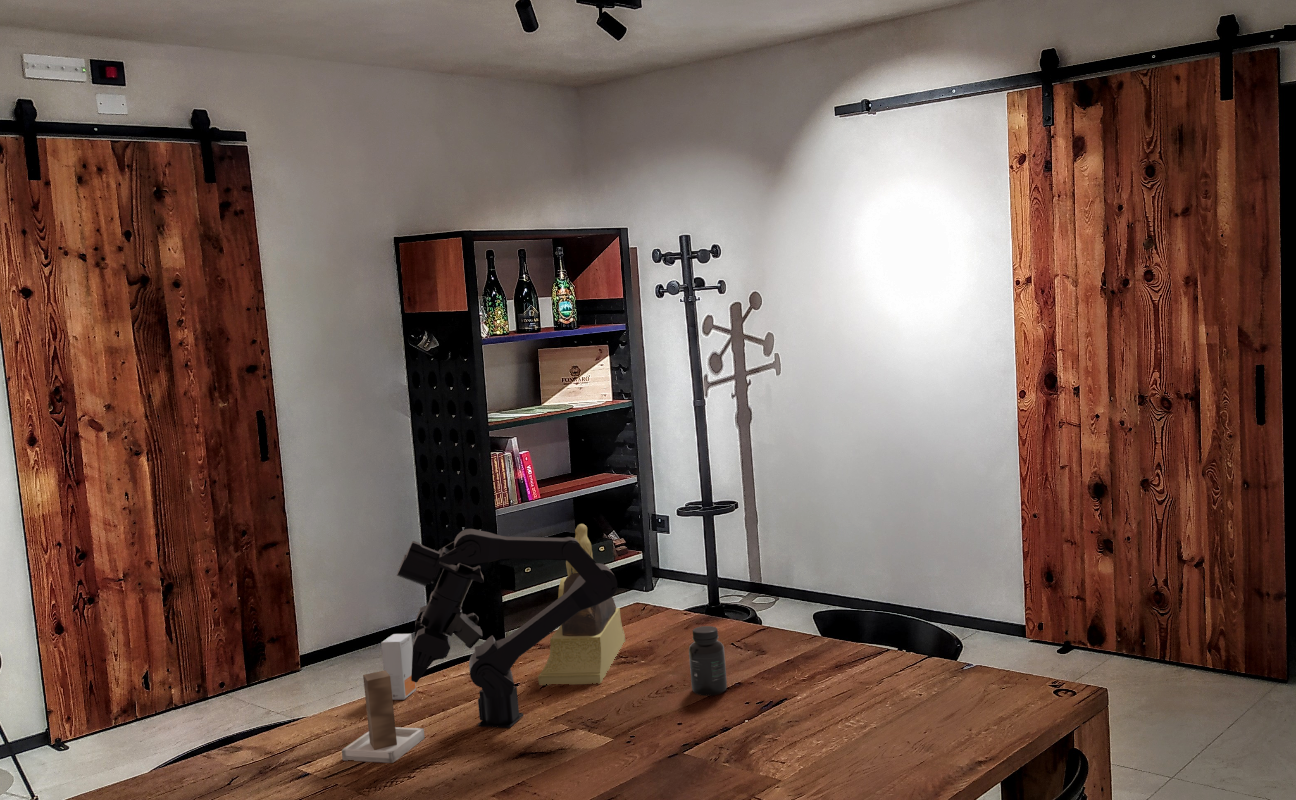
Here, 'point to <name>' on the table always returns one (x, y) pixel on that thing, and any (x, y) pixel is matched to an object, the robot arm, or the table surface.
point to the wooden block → (380, 709)
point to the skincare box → (399, 664)
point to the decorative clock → (583, 636)
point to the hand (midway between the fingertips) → (414, 672)
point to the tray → (365, 751)
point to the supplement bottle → (707, 662)
